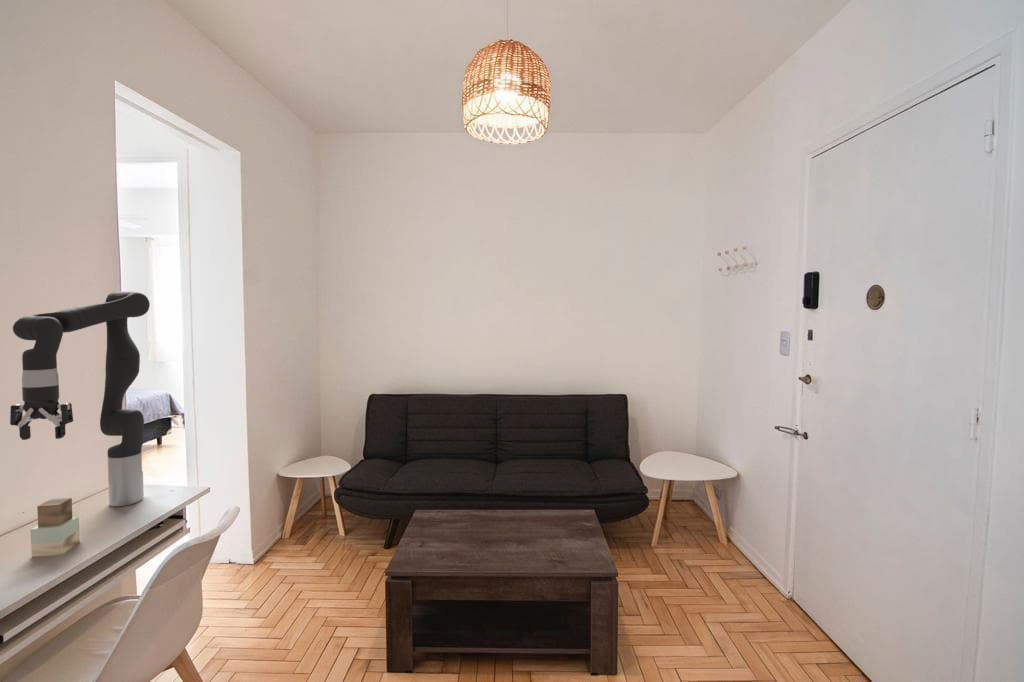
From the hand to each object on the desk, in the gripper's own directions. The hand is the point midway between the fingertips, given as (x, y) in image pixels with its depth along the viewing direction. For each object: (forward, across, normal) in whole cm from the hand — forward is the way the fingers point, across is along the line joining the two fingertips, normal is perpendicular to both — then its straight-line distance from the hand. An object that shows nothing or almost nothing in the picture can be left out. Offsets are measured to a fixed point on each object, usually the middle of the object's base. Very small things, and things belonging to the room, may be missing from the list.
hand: (42, 438), depth 135 cm
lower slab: (+30, -8, +8) cm, 32 cm away
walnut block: (+22, -8, +8) cm, 25 cm away
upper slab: (+26, -8, +8) cm, 29 cm away
